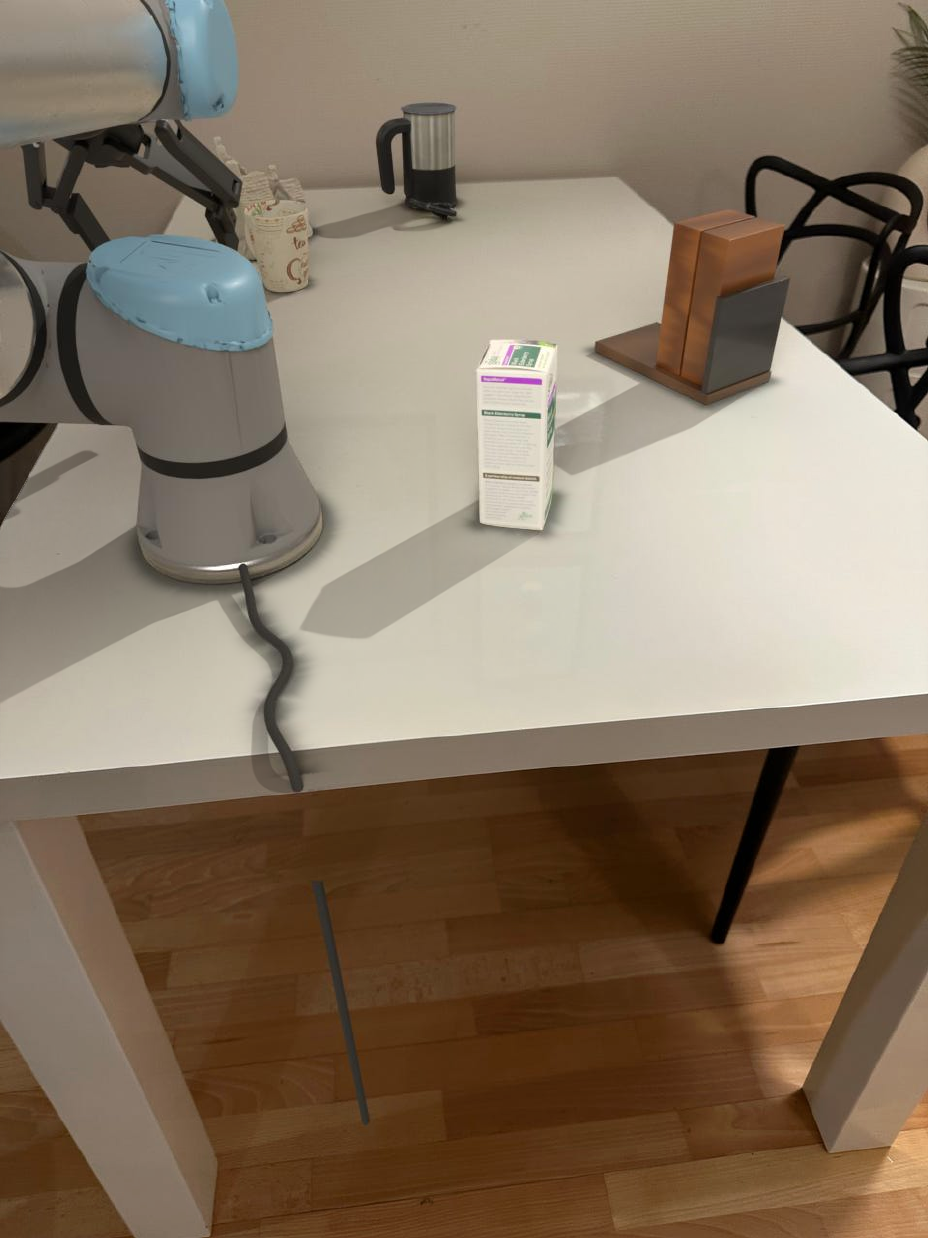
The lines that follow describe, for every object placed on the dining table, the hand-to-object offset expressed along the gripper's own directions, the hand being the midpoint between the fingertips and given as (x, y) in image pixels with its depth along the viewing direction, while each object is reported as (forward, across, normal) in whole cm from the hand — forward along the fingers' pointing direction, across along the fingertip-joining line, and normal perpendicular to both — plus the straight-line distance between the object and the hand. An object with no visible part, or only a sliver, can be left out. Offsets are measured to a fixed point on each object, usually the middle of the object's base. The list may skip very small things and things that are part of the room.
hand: (169, 251), depth 90 cm
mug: (+31, 0, -20) cm, 37 cm away
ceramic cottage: (+40, +7, -35) cm, 54 cm away
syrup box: (0, -37, +28) cm, 46 cm away
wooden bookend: (+18, -53, 0) cm, 56 cm away
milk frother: (+51, -17, -50) cm, 73 cm away
